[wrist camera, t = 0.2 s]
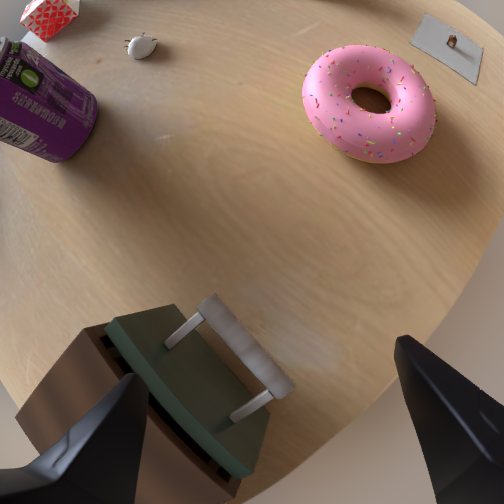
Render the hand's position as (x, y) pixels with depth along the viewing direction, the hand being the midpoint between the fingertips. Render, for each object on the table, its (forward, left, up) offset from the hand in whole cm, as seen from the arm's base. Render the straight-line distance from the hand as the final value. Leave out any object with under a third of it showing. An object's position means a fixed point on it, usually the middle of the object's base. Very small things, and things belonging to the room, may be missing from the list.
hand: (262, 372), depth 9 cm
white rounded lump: (+30, -7, -13) cm, 34 cm away
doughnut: (+7, -16, -13) cm, 22 cm away
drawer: (0, +10, -12) cm, 16 cm away
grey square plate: (+7, -32, -13) cm, 35 cm away
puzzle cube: (+60, -3, -13) cm, 62 cm away
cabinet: (0, +15, -13) cm, 19 cm away
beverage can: (+29, +5, -13) cm, 32 cm away
